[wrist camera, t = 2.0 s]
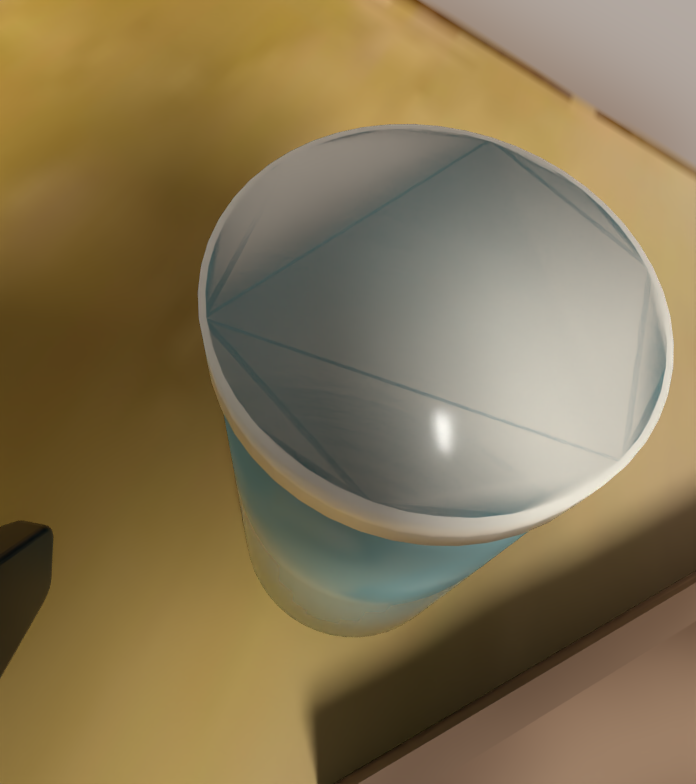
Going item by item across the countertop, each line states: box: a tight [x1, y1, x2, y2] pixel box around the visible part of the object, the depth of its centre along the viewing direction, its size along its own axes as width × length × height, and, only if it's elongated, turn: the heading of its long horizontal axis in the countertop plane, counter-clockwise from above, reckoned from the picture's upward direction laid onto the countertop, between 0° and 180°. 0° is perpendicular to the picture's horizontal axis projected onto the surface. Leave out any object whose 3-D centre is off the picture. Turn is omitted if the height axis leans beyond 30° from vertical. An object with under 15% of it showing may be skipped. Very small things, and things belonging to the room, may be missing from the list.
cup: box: [198, 124, 674, 637], centre depth 15 cm, size 7×7×12 cm
